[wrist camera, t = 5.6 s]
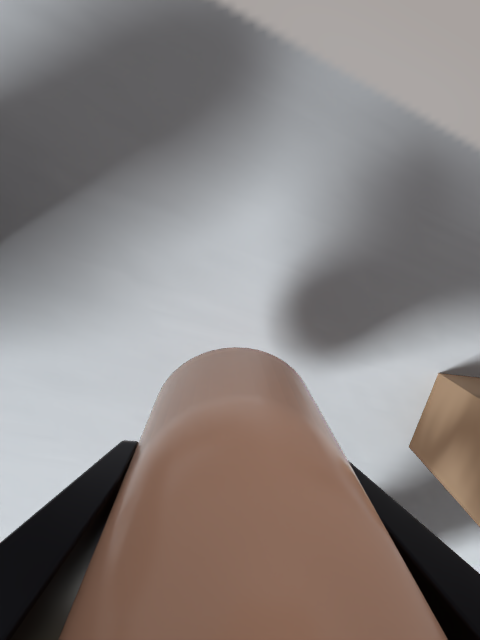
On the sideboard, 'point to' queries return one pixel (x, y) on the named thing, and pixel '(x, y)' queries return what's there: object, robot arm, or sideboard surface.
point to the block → (453, 438)
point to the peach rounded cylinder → (244, 523)
